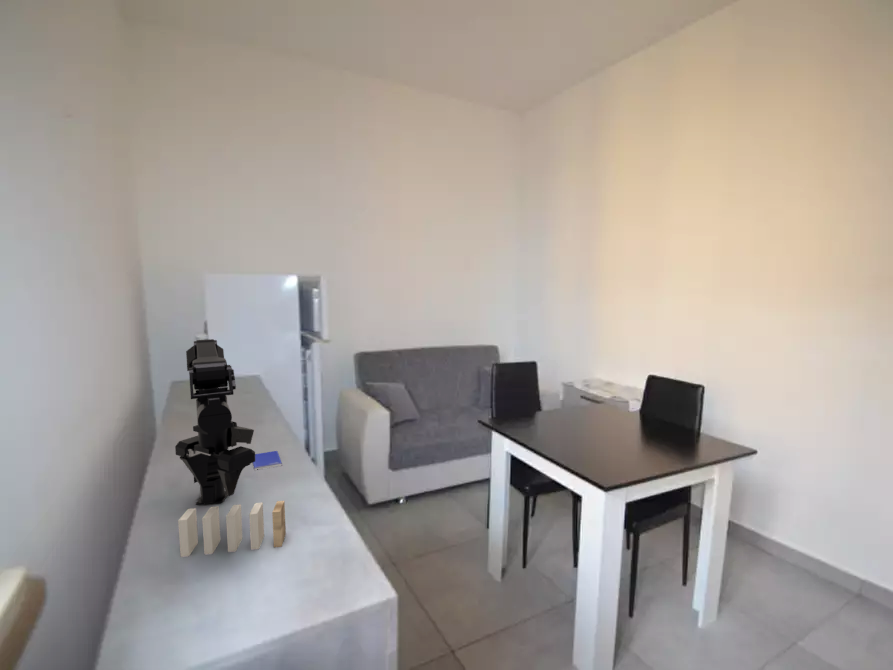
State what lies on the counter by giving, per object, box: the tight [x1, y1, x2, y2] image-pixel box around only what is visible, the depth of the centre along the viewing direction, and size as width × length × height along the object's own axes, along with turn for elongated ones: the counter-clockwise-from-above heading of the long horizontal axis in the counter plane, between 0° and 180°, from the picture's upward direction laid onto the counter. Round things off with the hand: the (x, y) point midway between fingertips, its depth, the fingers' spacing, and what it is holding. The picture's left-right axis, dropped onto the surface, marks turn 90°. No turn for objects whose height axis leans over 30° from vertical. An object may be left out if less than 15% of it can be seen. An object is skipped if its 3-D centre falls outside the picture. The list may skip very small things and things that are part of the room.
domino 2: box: [202, 505, 222, 556], centre depth 94 cm, size 5×2×8 cm, turn 10°
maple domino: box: [271, 500, 287, 548], centre depth 96 cm, size 5×2×8 cm, turn 10°
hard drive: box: [252, 450, 283, 471], centre depth 142 cm, size 2×8×12 cm
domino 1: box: [177, 507, 199, 558], centre depth 93 cm, size 5×2×8 cm, turn 10°
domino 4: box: [248, 502, 265, 551], centre depth 95 cm, size 5×2×8 cm, turn 10°
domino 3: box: [225, 504, 243, 553], centre depth 94 cm, size 5×2×8 cm, turn 10°
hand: (216, 490), depth 93 cm, fingers open, 9 cm apart
